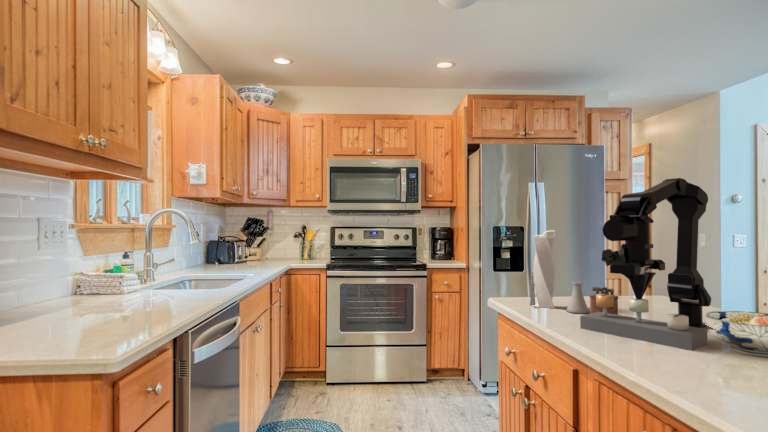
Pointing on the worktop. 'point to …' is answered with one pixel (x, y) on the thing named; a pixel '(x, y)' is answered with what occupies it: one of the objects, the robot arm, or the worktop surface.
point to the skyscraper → (543, 272)
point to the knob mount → (645, 330)
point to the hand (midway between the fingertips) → (638, 298)
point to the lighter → (596, 308)
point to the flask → (577, 300)
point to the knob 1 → (604, 302)
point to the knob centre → (638, 307)
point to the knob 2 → (678, 321)
